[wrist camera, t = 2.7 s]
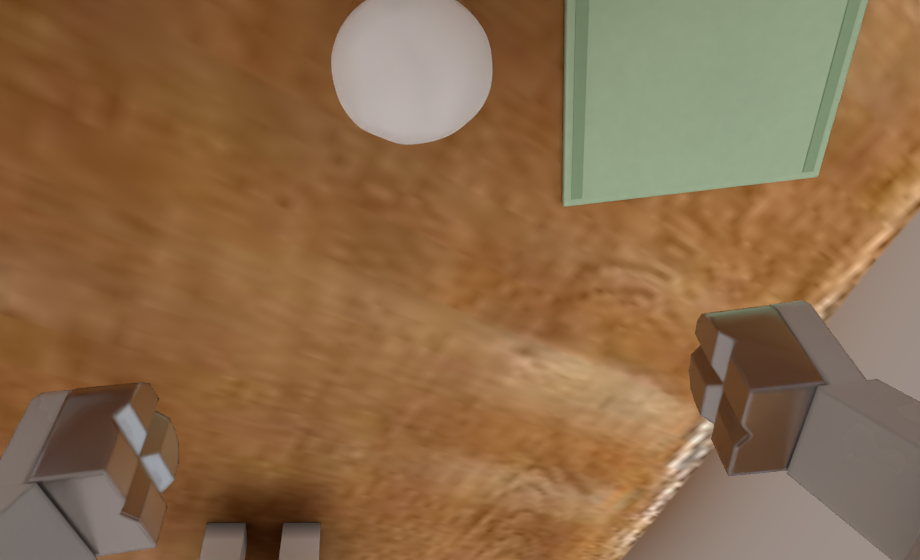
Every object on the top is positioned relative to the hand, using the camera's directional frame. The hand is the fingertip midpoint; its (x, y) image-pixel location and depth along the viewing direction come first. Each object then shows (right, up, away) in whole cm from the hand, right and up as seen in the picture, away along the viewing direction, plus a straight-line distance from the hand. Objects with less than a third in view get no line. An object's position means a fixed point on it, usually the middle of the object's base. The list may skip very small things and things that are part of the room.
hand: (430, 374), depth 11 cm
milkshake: (-2, +13, +15) cm, 20 cm away
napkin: (+11, +12, +17) cm, 23 cm away
